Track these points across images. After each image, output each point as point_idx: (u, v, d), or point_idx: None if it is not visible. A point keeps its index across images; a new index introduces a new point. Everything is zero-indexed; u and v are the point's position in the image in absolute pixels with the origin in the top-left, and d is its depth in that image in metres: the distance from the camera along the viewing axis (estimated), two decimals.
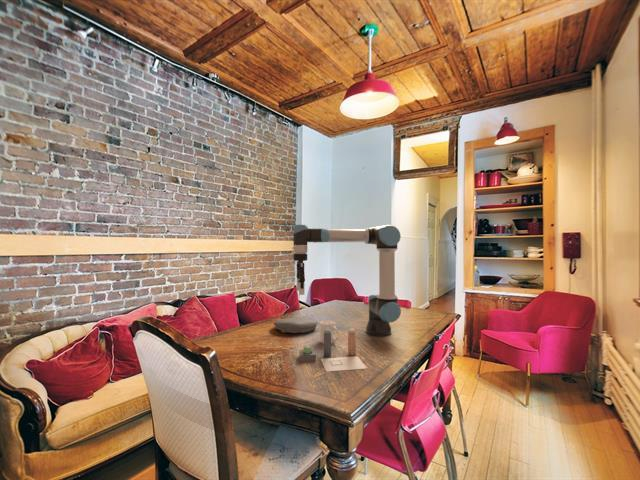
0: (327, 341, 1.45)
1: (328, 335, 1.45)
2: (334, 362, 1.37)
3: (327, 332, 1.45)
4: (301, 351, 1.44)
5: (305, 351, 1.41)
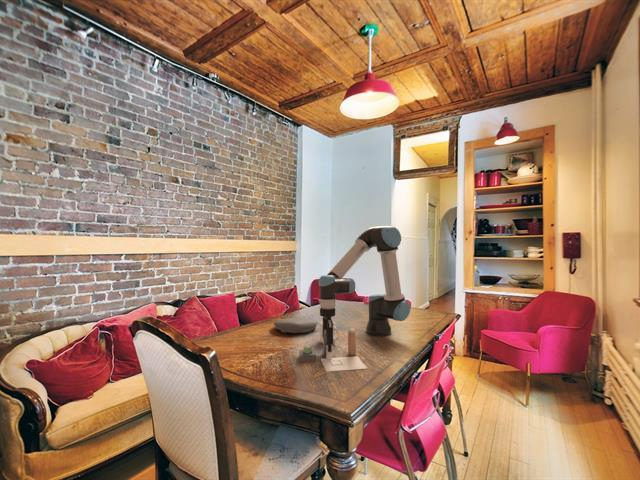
0: None
1: None
2: (334, 362, 1.37)
3: None
4: (301, 351, 1.44)
5: (305, 351, 1.41)
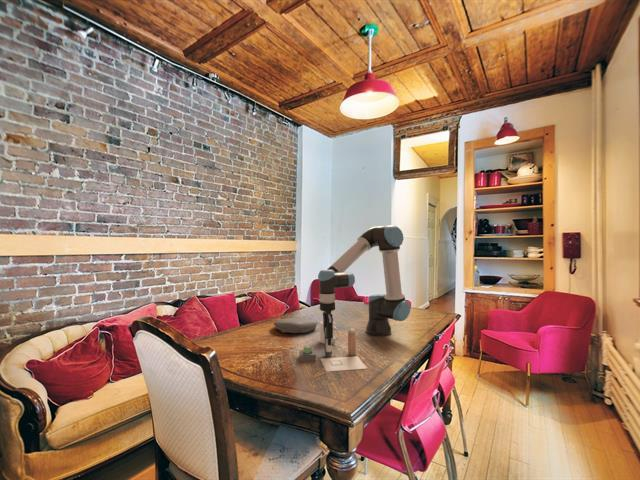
0: None
1: None
2: (334, 362, 1.37)
3: None
4: (301, 351, 1.44)
5: (305, 351, 1.41)
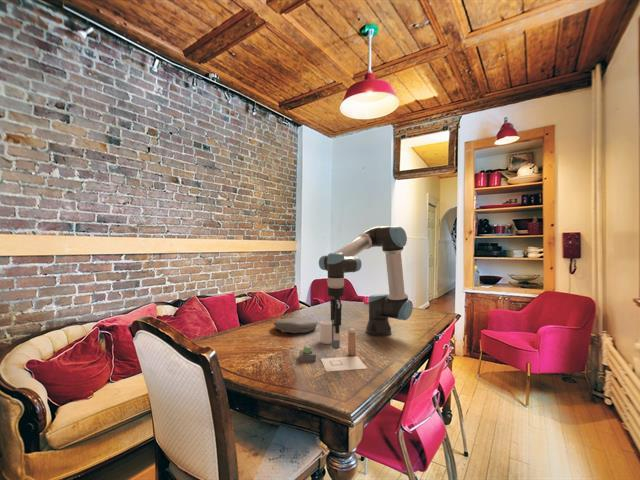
0: None
1: None
2: (334, 362, 1.37)
3: None
4: (301, 351, 1.44)
5: (305, 351, 1.41)
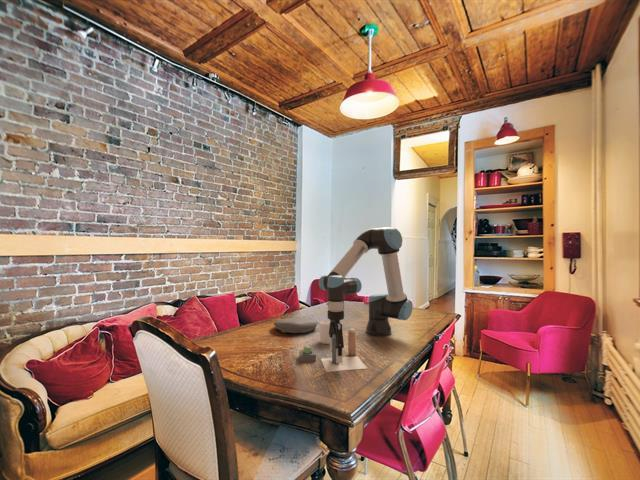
0: None
1: None
2: None
3: None
4: (301, 351, 1.44)
5: (305, 351, 1.41)
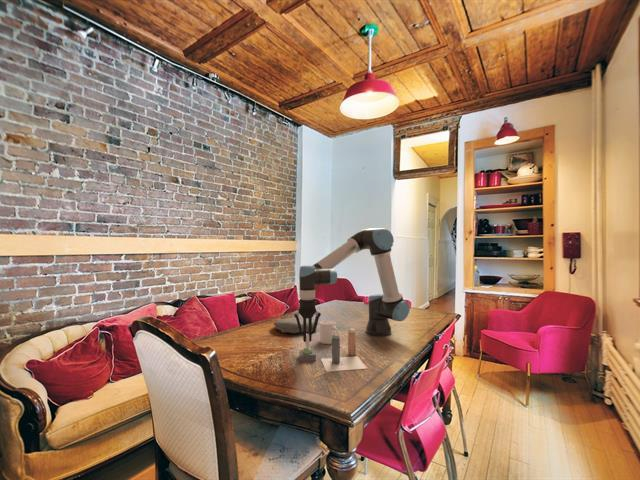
0: (336, 347, 1.35)
1: (337, 341, 1.35)
2: None
3: (336, 337, 1.35)
4: (301, 351, 1.44)
5: (305, 353, 1.41)
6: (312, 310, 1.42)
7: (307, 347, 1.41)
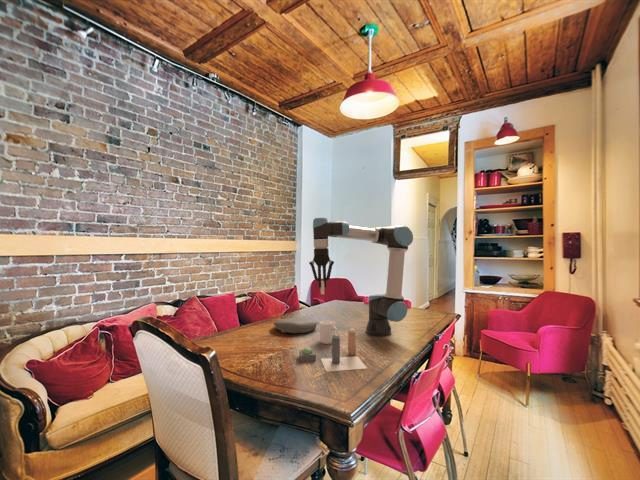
0: (336, 347, 1.35)
1: (337, 340, 1.35)
2: None
3: (336, 337, 1.35)
4: (301, 351, 1.44)
5: (305, 353, 1.41)
6: (326, 258, 1.54)
7: (322, 292, 1.53)
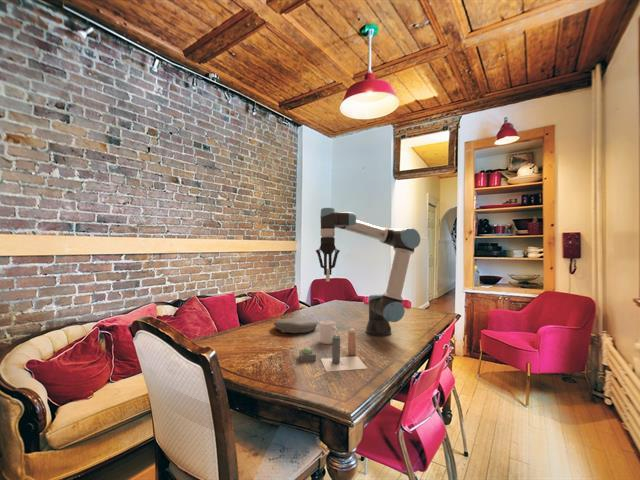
0: (336, 347, 1.35)
1: (338, 341, 1.35)
2: None
3: (337, 337, 1.35)
4: (301, 351, 1.44)
5: (305, 353, 1.41)
6: (332, 247, 1.60)
7: (328, 279, 1.60)
